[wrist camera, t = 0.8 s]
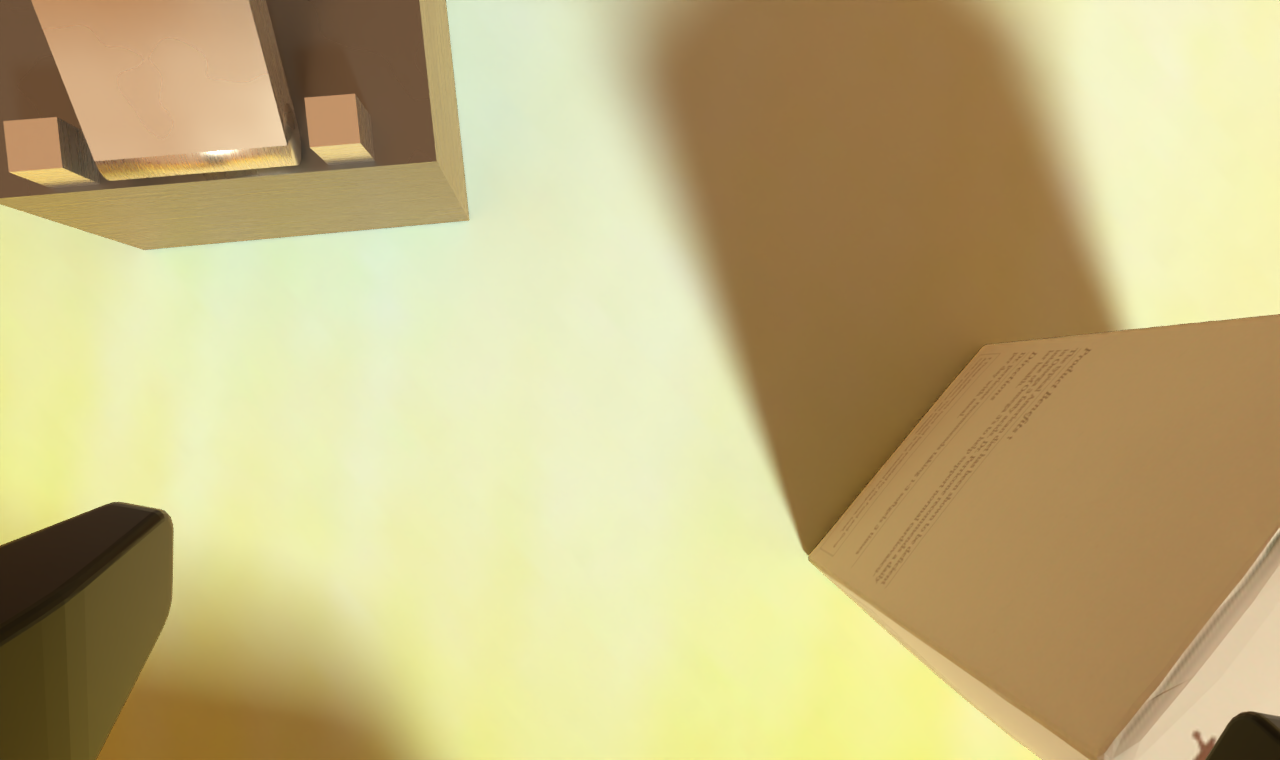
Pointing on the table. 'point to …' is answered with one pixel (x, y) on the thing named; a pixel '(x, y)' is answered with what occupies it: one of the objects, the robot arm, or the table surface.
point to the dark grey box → (265, 197)
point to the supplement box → (1088, 538)
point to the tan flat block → (174, 84)
